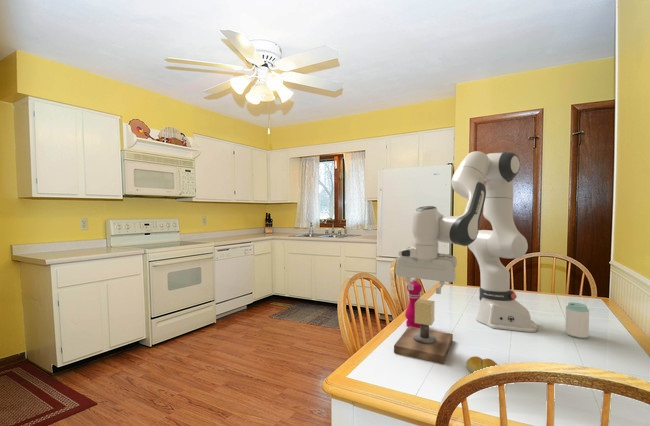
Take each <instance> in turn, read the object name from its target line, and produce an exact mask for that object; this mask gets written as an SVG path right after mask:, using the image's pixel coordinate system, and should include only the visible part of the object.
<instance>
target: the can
mask: <svg viewBox="0 0 650 426" xmlns="http://www.w3.org/2000/svg"><path fill="white" fill-rule="evenodd" d="M564 332H565V333H566V334H567V335H568V336H569V337H572V338H576V339H580V340H581V339H586V338H589V336H590V310H589V309H588V305H587V304H584V303H580V302H574V301H573V302H568V303H567V305H566V306H565V331H564Z"/></svg>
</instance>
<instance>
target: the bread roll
mask: <svg viewBox="0 0 650 426" xmlns="http://www.w3.org/2000/svg"><path fill="white" fill-rule="evenodd" d="M465 364H466V366H465V367H466V369H467V371H469V372H470V374H472V372H474V371H477V370H480V369H483V368H486V367H490V366H495V365H498V363H497V362H496V361H495V360H493V359H492V358H481V357H480V356H471V357H469V358H468V359H467V360H466V363H465ZM498 366H499V365H498Z"/></svg>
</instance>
